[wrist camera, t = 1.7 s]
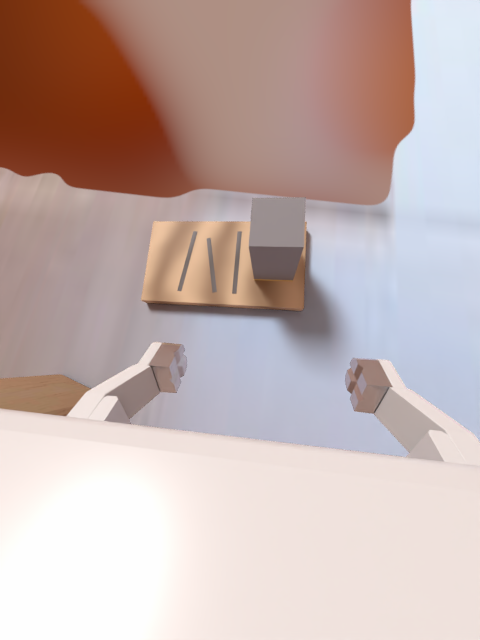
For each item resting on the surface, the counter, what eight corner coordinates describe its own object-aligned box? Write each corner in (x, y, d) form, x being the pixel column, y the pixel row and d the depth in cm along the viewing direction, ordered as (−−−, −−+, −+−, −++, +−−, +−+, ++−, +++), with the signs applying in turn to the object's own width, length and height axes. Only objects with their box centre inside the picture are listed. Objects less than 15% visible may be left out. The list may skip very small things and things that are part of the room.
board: (304, 228, 32) (306, 221, 30) (301, 310, 30) (303, 308, 28) (158, 227, 34) (153, 221, 33) (146, 302, 32) (140, 300, 31)
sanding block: (294, 245, 30) (305, 197, 21) (292, 281, 29) (303, 247, 20) (256, 245, 30) (252, 198, 22) (254, 280, 29) (248, 246, 21)
